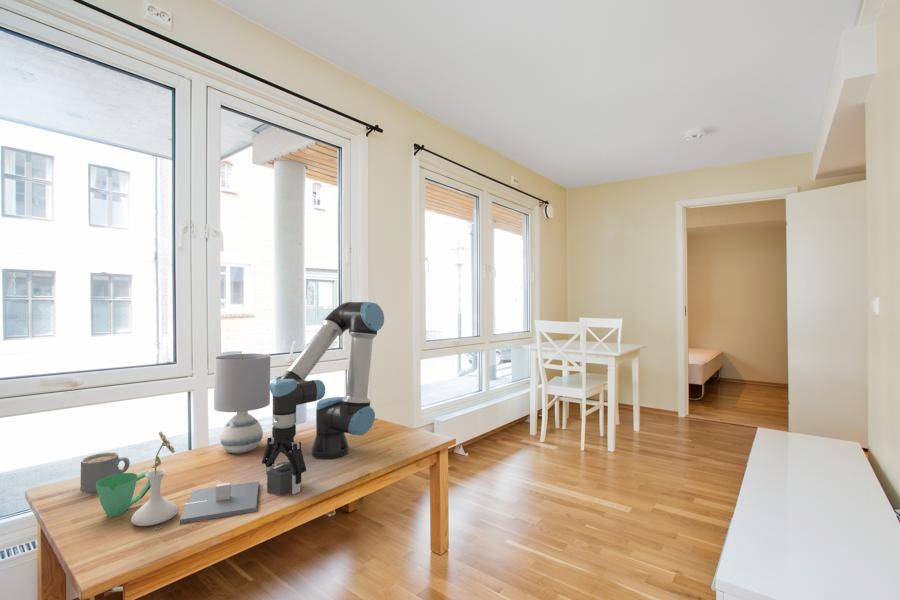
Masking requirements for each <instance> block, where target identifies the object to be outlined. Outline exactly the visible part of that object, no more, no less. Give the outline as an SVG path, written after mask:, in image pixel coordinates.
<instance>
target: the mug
mask: <svg viewBox="0 0 900 600" xmlns="http://www.w3.org/2000/svg"><path fill="white" fill-rule="evenodd" d="M148 472H150V471H144V472H142V473H140V474H137V473H134V472H124V473H122V474H116V475H112V476H109V477H106V478H103V479H101V480H99V481H98V482H97V484H96V488H97V492H96V493H97V494H98V499H99V503H100V505H101V508H102V510H103V511H104V513H105V515H106V516H107V517H118V516H121V515H123V514H125V513H127V511H128V510H129V508H130V507H131V506H133V505H134V504H135V503H137V502H138V501H140V500H141V499H143V497H144V496H145V495H146V494H147V493H148V491H149V490H151V485H150V481H149V479H148V478H147V477H146V476H145V474H146V473H148ZM144 478H147V482H146V484H145V486H144V487H143V488H142V490H141V491H140V492H139V494H138V495H136V496H134V493H135V488H136V485H137V482H138V481H140V480H142V479H144ZM133 496H134V497H133Z"/></svg>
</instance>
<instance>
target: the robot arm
mask: <svg viewBox="0 0 900 600" xmlns="http://www.w3.org/2000/svg"><path fill="white" fill-rule="evenodd" d="M384 323H385V314H384V311H383V309H382V307H381V306H380V305H379V304H377V303H376V302H371V301H360V302H358V301H347V302H343V303H342V304H340V305H338V306H337V307H335V308H334V309H333V310H332V311H331V312H330V313H329V314H328V315H327V316H326V317H325V318H324V319H323V321H322V326H321V327H320V328H319V330H318V331H317V332H316V333H315V335H314V336H313V337H312V339H311V340H310V341H309V342H308V344H306V346H305V347H304V349H303V350H302V351H301V352H300V354H299V355H298V356H297V358H296V359H294V361H293V362H292V364H291V365H290V366H289V367H288V369H287V370H286V371H285V372H284V374H283V375H282V376H275V378H273V379H272V380H270V394H271V395H272V429H271V430H272V431H271V434H272V436H270V437H268V438H267V440H266V447H265V451H264V453H263V457H262V460H261V464H262V465H265V467H266V473H265V474H266V475H267V471H269V470H272V469H274V467H276V463H275V461H276V460H277V459H278V457H279V455H280V454H283V455H285V457H286V458H287V460H288V462H290V464H291V467H292V469H293V471H294V474H292V490H291V494H292V495H295V494H297V493H300V492H301V484H302V474H303V473H305V472H307V466H306V462H305V459H304V455H303V451H302V442H301V441H299V442H295V439H294V438H295V436H296V435H297V434H296V433H297V431H296V429H297V425H296V423H297V406H298V405H304V404H308V403H312V402H316V401H317V403H316V410H315V411H316V412H315V414H316V415H315V417H316V418H315V423H316V425H315V427H316V433H315V438H314V441H313V444H312V448H311V456H312V457H314V458H316V459H322V460H327V459H328V460H329V459H337V458H340V457H341V458H342V457H343V456H345V455H347V454H348V453H349V450H350V449H349V447H350V446H349V444H348V440H347V437H346V434H350V435H352V436H364V435H365V434H367V433H368V432H369V431H370V429H372V428H373V425H374V422H375V420H376V419H375V418H376V413H375V410H374V408H372V407H371V399H370V398H369V397H368V393H369V392H368V391H369V381H370V380H369V379H370V372H371V371H370V370H371V361H372V348H373V343H374V342H373V340H374V338H376V337H377V335H378V331H379V330H381V329H382V327H383V326H384ZM347 330H348V335H350V337H351V345H350V351H349V354H350V355H349V361H348V362H349V364H348V372H347V383H346V393H345V396H333V397H327V398H324V397H325V396H326V395H325V394H326V386H325V385H326V384H324V382H323V381H322V380H320V379H312V380H306V378H307V377H308V376H309V375H310V373H311V372H312V370H313V369H314V368H315V367H316V365H317V364H318V363H319V361H320V360H321V358H322V357H323V356H324V355H325V354H326V352H327V351H328V350H329V348H330V347H331V346H332V344H333V343H334V342H335V340H336V339H337V338H338V337H340V336H342V335H343V334H344V333H345V332H346V331H347ZM297 469H298V470H297Z"/></svg>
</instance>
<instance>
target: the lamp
mask: <svg viewBox="0 0 900 600" xmlns="http://www.w3.org/2000/svg"><path fill="white" fill-rule="evenodd" d="M213 361H214V363H213V364H214V365H213V368H214V371H213V372H214V373H213V374H214V375H213V378H214V379H213V382H214V383H213V410H215V411H217V412H221V413H236V414H235V415H234V416H233V417H232V418H231V419H230V420H229V421H227V423H226V424H225V426H224V427H223V429H222V431H221V433H220V444H221V447H222V449H223V450H225V451H226V452H228V453H231V454H244V453H248V452H251V451H254V450H255V449H256V448H257V447H259V445H260V444H261V443H262V441H263V436H264V435H263V434H264V431H263V428H262V425H261V423H260V421H259V420H257V419H256V418H255V417H254V416H253V415H252V414H249V411H254V410H259V409H263V408H266V407H268V406H270V404H271V391H270V384H271V355H270V354H268V353H236V354H235V353H231V354H224V355H219V356H216V357H214V360H213Z"/></svg>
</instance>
